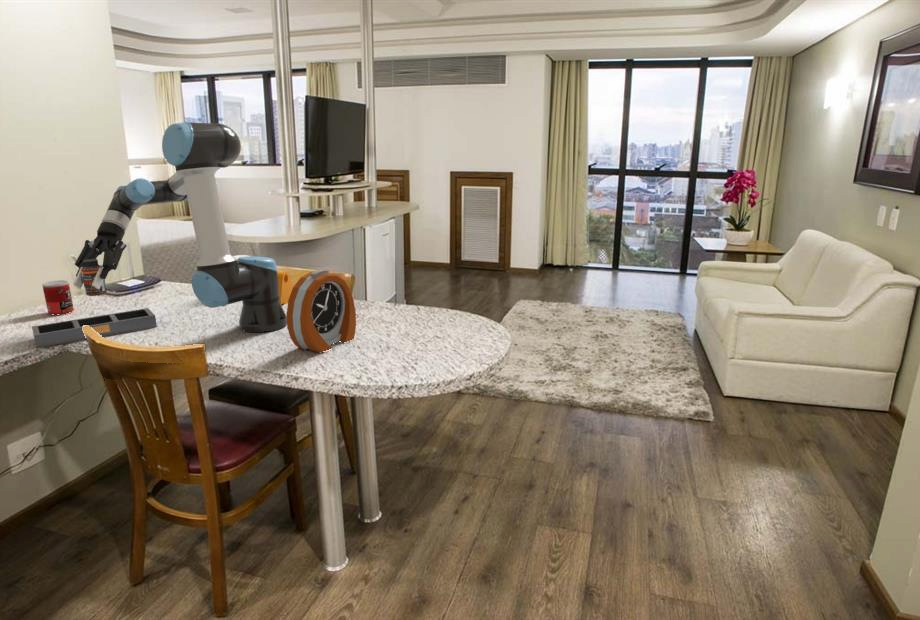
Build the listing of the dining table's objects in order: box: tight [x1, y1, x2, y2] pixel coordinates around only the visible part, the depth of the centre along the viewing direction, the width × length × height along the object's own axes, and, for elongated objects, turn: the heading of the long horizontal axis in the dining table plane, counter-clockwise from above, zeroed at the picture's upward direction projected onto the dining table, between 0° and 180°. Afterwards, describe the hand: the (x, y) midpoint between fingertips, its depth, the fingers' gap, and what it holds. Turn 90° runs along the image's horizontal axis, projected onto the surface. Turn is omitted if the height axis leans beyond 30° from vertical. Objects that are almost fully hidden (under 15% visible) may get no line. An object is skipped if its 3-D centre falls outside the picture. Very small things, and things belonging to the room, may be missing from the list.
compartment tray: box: [31, 307, 158, 349], centre depth 192 cm, size 11×33×4 cm, turn 127°
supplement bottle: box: [81, 258, 108, 297], centre depth 192 cm, size 6×6×11 cm
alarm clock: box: [286, 269, 357, 353], centre depth 178 cm, size 22×10×23 cm, turn 151°
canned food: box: [41, 279, 75, 316], centre depth 213 cm, size 8×8×11 cm
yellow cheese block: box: [277, 270, 294, 305], centre depth 225 cm, size 11×7×12 cm, turn 169°
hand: (86, 286), depth 189 cm, fingers closed on supplement bottle, 6 cm apart
